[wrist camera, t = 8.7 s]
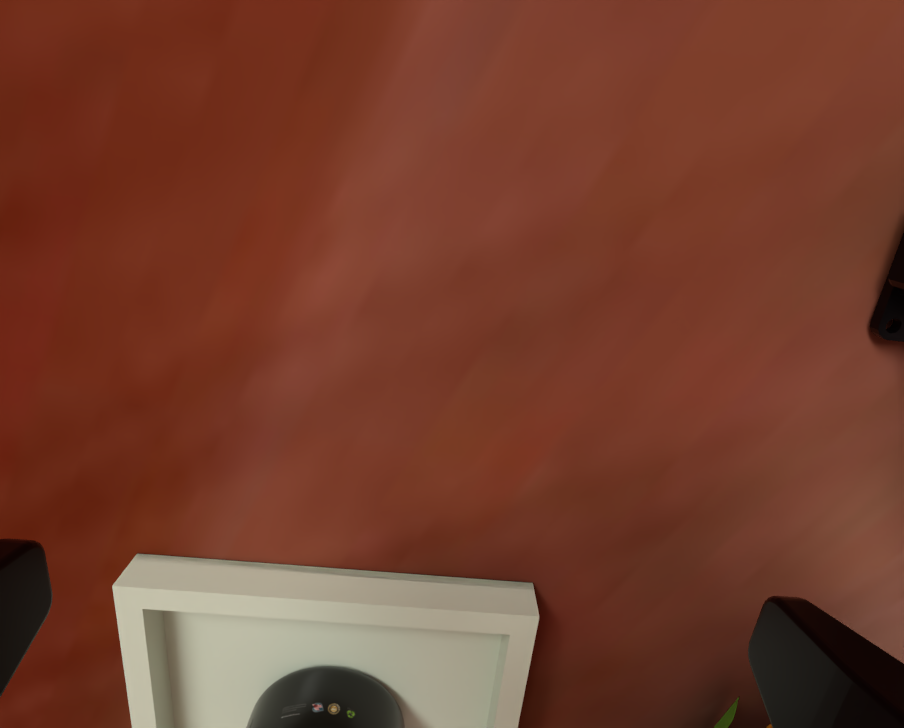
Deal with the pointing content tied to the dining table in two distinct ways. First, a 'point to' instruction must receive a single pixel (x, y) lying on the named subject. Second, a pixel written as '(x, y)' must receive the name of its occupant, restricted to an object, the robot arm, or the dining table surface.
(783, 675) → the robot arm
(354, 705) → the supplement bottle
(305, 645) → the tray
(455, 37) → the dining table surface
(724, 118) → the dining table surface
